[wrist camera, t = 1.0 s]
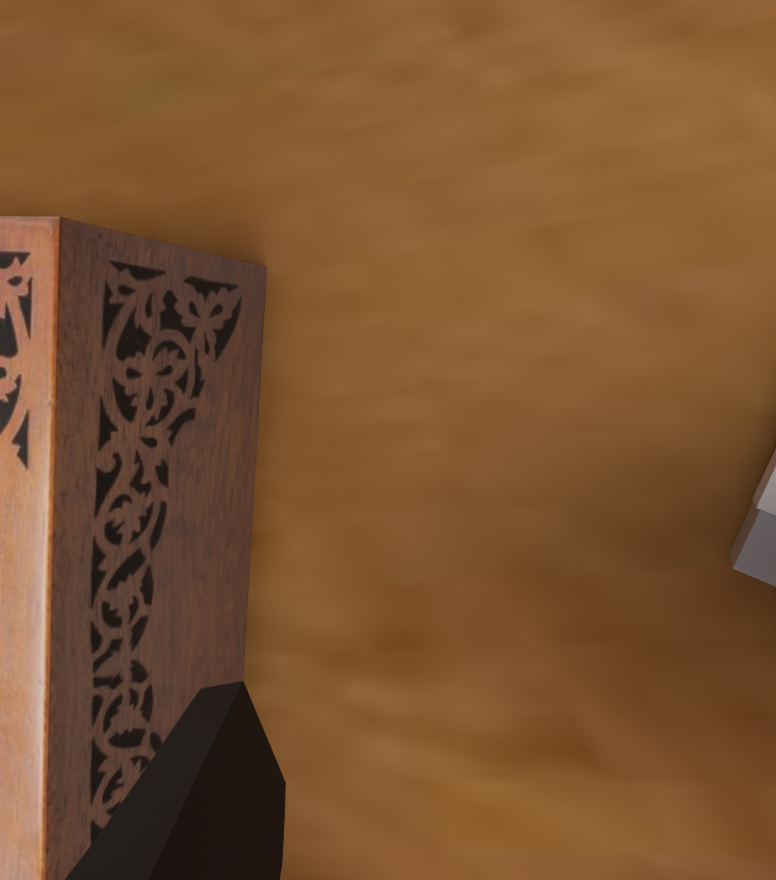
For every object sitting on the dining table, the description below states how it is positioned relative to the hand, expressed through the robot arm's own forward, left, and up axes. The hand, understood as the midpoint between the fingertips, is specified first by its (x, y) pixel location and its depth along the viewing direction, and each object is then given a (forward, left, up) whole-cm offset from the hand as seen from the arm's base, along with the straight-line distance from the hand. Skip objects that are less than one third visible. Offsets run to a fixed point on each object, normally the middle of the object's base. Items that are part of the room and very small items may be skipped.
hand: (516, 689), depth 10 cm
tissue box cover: (+19, +11, -15) cm, 26 cm away
